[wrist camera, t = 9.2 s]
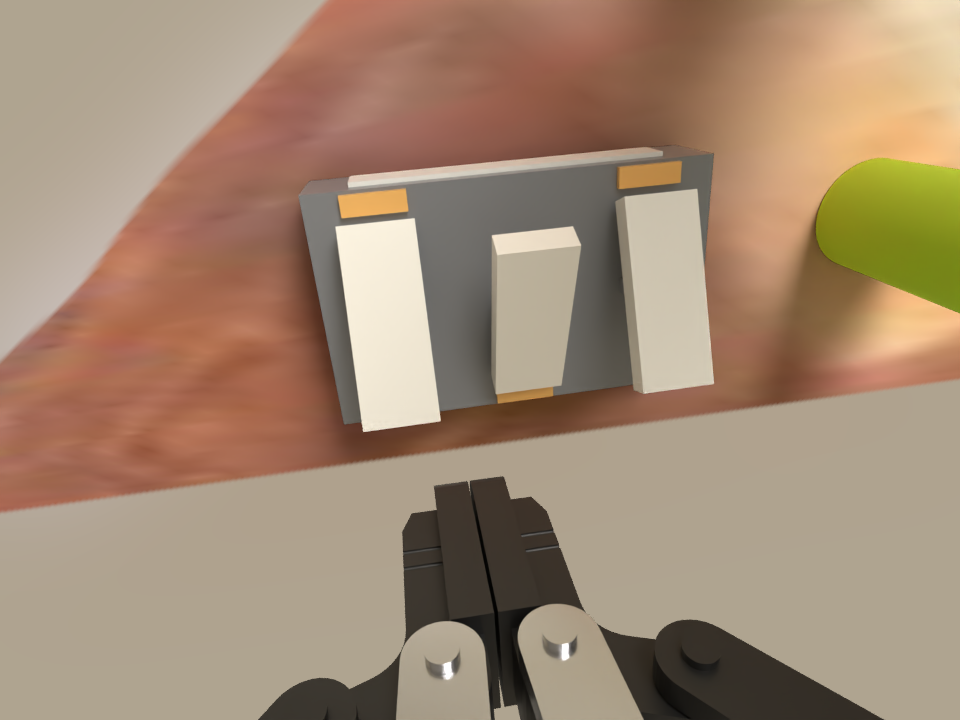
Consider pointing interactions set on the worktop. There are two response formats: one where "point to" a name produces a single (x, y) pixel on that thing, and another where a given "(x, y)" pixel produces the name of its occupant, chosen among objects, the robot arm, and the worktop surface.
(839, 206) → the soap dispenser
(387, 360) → the block
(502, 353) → the block
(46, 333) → the worktop surface
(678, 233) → the block
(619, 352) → the switch box
